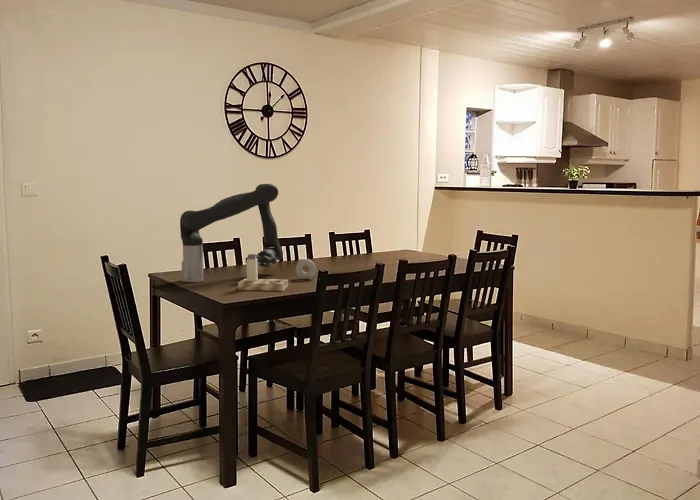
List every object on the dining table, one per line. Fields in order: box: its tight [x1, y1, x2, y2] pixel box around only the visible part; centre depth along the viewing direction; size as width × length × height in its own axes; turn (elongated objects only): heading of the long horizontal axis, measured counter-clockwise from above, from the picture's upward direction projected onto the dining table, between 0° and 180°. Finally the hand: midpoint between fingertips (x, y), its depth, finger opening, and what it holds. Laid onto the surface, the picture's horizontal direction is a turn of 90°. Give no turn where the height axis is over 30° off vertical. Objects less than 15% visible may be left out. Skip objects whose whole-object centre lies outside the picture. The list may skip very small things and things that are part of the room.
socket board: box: [237, 278, 289, 292], centre depth 281 cm, size 20×12×3 cm, turn 85°
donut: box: [295, 258, 317, 280], centre depth 306 cm, size 10×4×10 cm, turn 86°
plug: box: [246, 253, 259, 282], centre depth 281 cm, size 4×4×15 cm
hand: (257, 262), depth 292 cm, fingers open, 8 cm apart
